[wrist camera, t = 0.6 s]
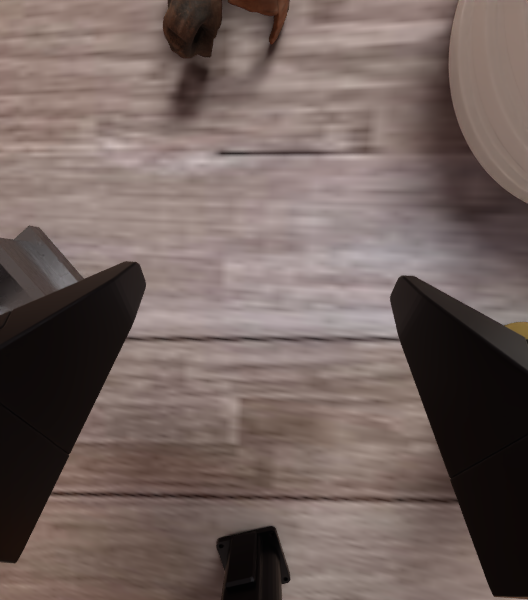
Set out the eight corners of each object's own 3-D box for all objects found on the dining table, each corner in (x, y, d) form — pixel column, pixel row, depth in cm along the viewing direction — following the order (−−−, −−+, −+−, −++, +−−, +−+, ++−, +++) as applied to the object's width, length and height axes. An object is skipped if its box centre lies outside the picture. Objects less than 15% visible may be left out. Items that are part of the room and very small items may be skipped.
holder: (124, 325, 24) (96, 335, 20) (38, 397, 25) (-5, 420, 21) (39, 227, 23) (-8, 218, 19) (-47, 306, 24) (-108, 313, 20)
